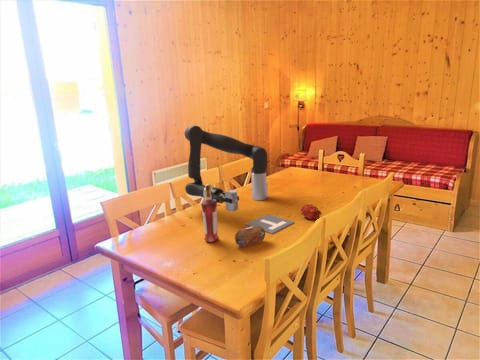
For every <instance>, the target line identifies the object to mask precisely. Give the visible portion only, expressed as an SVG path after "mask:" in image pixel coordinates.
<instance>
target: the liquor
mask: <svg viewBox="0 0 480 360" xmlns="http://www.w3.org/2000/svg"><path fill="white" fill-rule="evenodd" d="M204 185H205V190H206V198H205V200H204V201H202V203H201V212H202V213H201V215H202V221H203V228H204V238H203V239H204V240H205V241H206V242H207V243H215V242H216V241H218V239H219V235H218V203H217V202H215V201H214V200H212V196H211V186H212V185H211V184H210V183H207V184H204Z"/></svg>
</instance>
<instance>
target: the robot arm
mask: <svg viewBox="0 0 480 360" xmlns="http://www.w3.org/2000/svg"><path fill="white" fill-rule="evenodd" d="M184 137H185V139H186V140H187V141H189V155H188V156H189V158H188V163H187V164H188V166H187V167H188V168H187V171H188V173H187V174H188V178H190V179H193V181H194V182H189V183H187V184H186V185H185V188H184V189H185V192H186V194H187V195H189V196H192V197H193V196H194V197H201V198H204V199H206V190H205V185H206V184H204V182H203V178H202V176H201V157H202V156H201V155H202V154H201V153H202V145H205V146H208V147H211V148H214V149H216V150H218V151H221V152H225V153H229V154H235V155H242V156H245V157H246V158H249V159H250V160H252V167H251V170H250V171H251V196H252V197H251V198H252V200H253V201H265V200H267V198H269V196H268V191H269V190H268V182H267V169H268V152H267V150H266V149H265V148H264V147H262V146H259V145H254V144H249V143H245V142H243V141H240V140H239V139H236V138H234V137H231V136H227V135H224V134H219V133H212V132H208V131H206V130H203V129H202V128H201V127H200V126H199V125H191V126H188V127H187V128H186V129H185V131H184ZM225 192H226V191H224V190H223V189H222V188H219V187H216V186H212V185H211V196H212V200H214V201H215V202H217V204H223V203H225V204H226V202H228V203H232V199H229V198H226V197H225ZM237 199H238V201H240V196H238V195H237Z"/></svg>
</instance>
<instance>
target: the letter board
mask: <svg viewBox="0 0 480 360" xmlns="http://www.w3.org/2000/svg"><path fill="white" fill-rule="evenodd" d="M293 224H295V221H292V220H288V219H285V218H282V217H278V216H275V215H272V214H265V215H263V216H260V217H258V218H256V219H253V220H252V221H249V222H247V223H246V224H245V226H246V227H247V226H248V227H251V226H256V225H257V226H260V227H262V228H263V229H264V230H265V233H268V234H271V235H273V234H276V233H278V232H279V231H281V230H283V229H286V228H287V227H290V226H291V225H293Z"/></svg>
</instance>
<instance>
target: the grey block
mask: <svg viewBox="0 0 480 360" xmlns="http://www.w3.org/2000/svg"><path fill="white" fill-rule="evenodd" d="M224 192H225V197H226V198H229V199H232V203H228V202H226V203H225V210H226V211H228V212H231V213H233V212H235V211H238V210H239V203H238V201H239V200H238V199H237V196H238V191H237V190H233V189H230V190H227V191H224Z"/></svg>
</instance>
